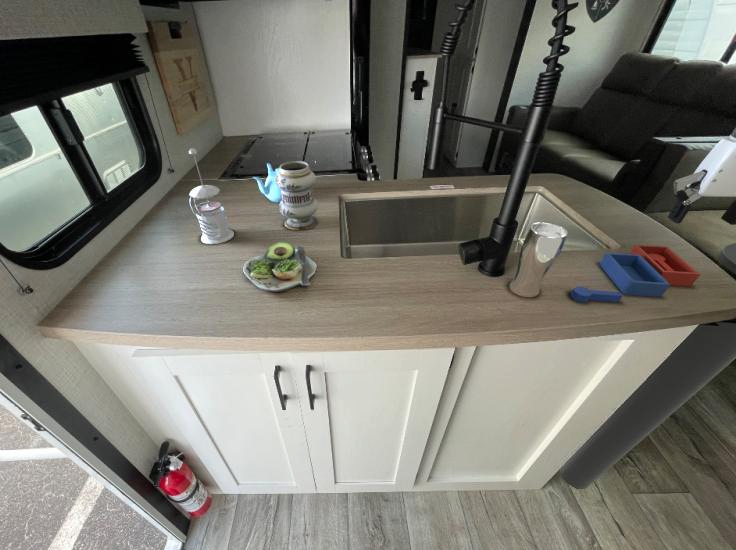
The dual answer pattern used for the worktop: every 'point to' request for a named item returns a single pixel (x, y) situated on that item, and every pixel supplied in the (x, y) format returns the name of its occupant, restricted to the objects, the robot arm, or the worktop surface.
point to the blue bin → (634, 275)
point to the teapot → (270, 185)
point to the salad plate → (280, 268)
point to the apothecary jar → (297, 194)
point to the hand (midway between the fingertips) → (700, 221)
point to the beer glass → (537, 257)
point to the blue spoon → (594, 295)
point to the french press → (210, 213)
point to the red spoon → (660, 261)
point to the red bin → (682, 269)
